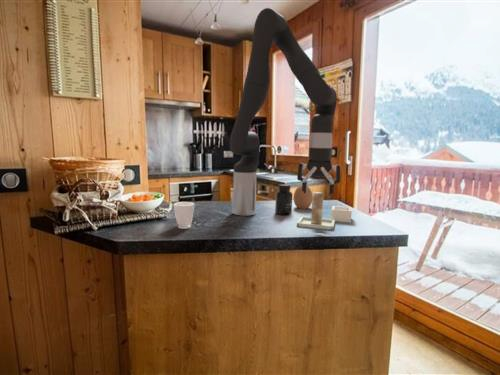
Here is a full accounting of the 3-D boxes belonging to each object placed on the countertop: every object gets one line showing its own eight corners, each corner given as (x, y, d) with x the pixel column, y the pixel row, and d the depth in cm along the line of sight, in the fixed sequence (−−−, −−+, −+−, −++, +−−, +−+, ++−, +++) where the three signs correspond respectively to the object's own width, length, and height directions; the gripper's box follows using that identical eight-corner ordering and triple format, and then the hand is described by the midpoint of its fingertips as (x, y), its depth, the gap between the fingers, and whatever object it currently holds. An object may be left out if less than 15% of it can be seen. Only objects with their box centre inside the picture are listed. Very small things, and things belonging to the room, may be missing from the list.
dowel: (310, 224, 102) (312, 193, 100) (311, 222, 105) (313, 191, 104) (320, 225, 101) (323, 194, 99) (321, 223, 104) (323, 192, 103)
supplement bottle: (291, 216, 118) (292, 186, 116) (274, 215, 119) (275, 185, 118) (292, 212, 125) (293, 184, 123) (276, 211, 126) (276, 183, 124)
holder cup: (330, 222, 109) (331, 209, 108) (331, 218, 115) (332, 205, 115) (350, 224, 107) (351, 211, 106) (350, 220, 113) (351, 207, 112)
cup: (172, 230, 96) (172, 206, 95) (175, 222, 106) (175, 200, 105) (194, 229, 97) (194, 205, 96) (195, 221, 107) (195, 200, 106)
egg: (300, 206, 136) (301, 182, 134) (315, 209, 130) (316, 184, 128) (289, 209, 130) (290, 184, 128) (305, 212, 124) (306, 186, 123)
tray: (296, 228, 100) (296, 222, 100) (301, 221, 110) (301, 216, 109) (333, 232, 97) (333, 226, 96) (334, 224, 106) (334, 219, 106)
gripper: (297, 146, 98) (295, 194, 100) (342, 147, 93) (338, 197, 96) (301, 146, 105) (298, 190, 107) (342, 147, 100) (339, 193, 103)
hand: (317, 193), depth 102 cm, fingers open, 8 cm apart
